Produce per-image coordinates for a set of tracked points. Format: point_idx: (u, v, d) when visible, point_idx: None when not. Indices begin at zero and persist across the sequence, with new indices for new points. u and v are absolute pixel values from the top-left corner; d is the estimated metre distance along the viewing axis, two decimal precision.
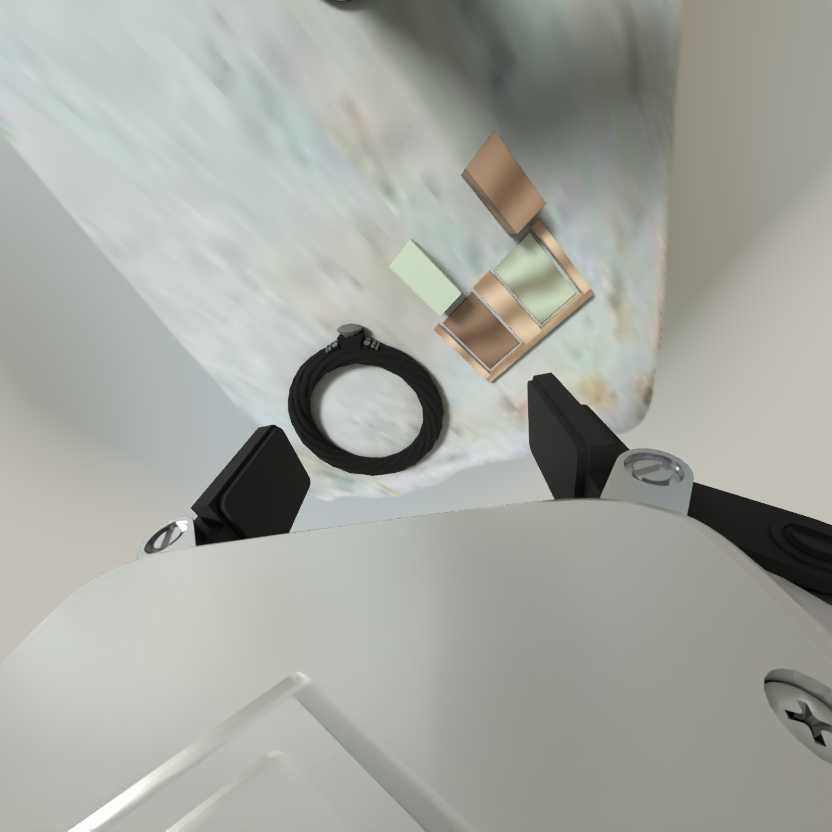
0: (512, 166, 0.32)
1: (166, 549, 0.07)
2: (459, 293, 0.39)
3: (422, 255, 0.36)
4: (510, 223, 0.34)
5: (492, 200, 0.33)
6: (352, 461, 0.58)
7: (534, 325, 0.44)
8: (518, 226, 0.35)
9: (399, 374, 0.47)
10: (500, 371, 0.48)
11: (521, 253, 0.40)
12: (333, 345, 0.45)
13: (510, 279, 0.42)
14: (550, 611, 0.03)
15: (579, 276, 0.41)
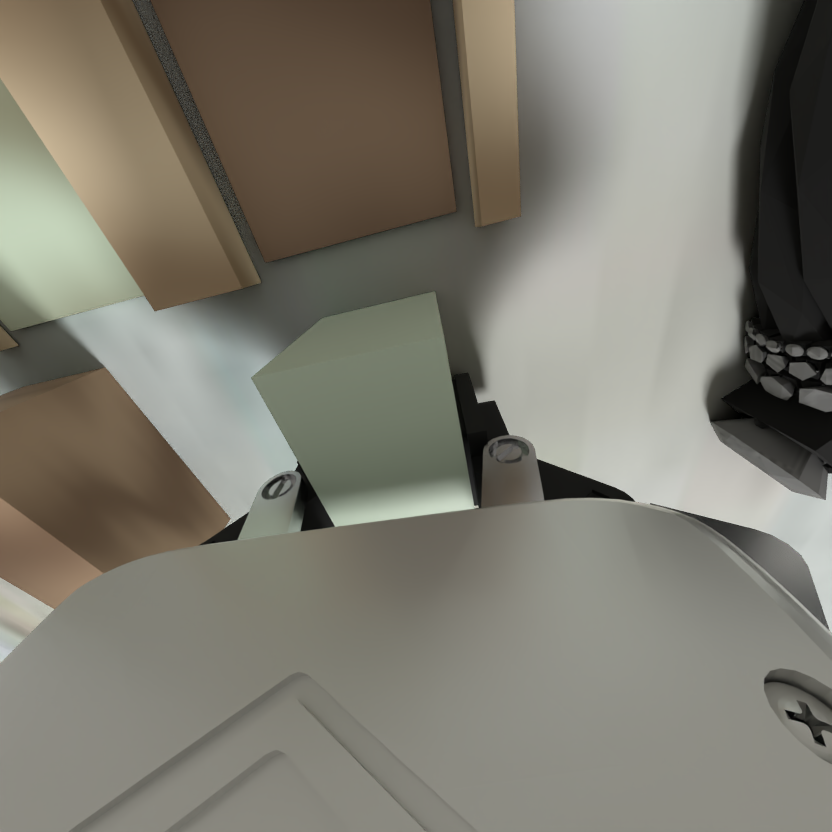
0: (13, 577, 0.11)
1: (274, 500, 0.08)
2: (263, 384, 0.06)
3: None
4: None
5: (76, 553, 0.10)
6: None
7: None
8: None
9: None
10: None
11: (29, 281, 0.10)
12: None
13: (70, 203, 0.08)
14: (550, 611, 0.03)
15: None
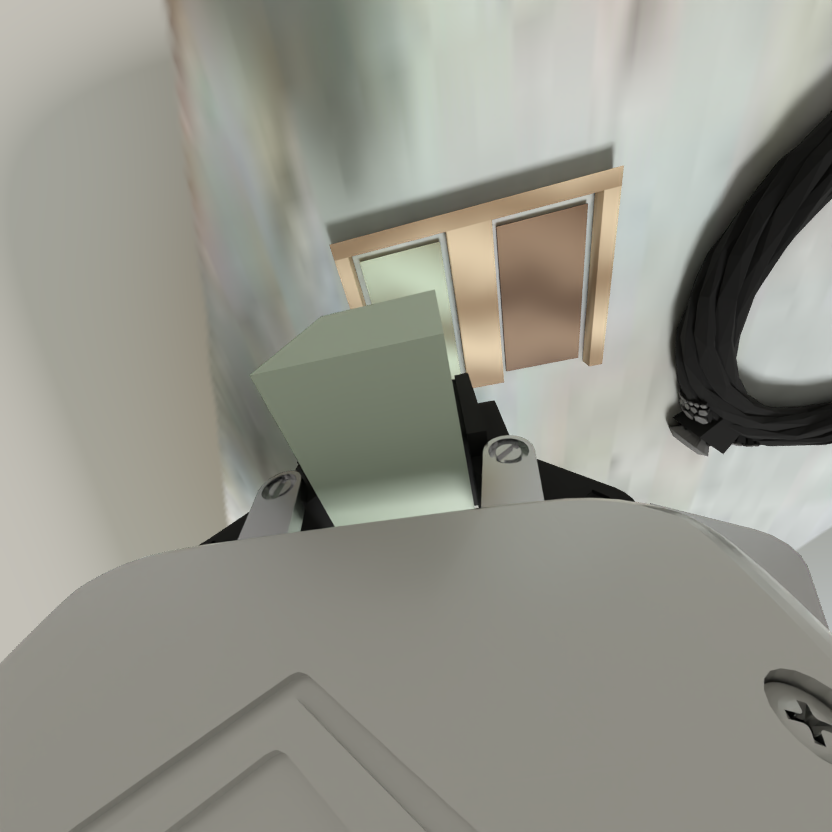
0: None
1: (274, 500, 0.08)
2: (262, 382, 0.06)
3: None
4: None
5: None
6: None
7: (453, 254, 0.20)
8: None
9: (736, 341, 0.22)
10: (579, 183, 0.18)
11: None
12: None
13: (448, 354, 0.25)
14: (550, 611, 0.03)
15: (349, 296, 0.22)
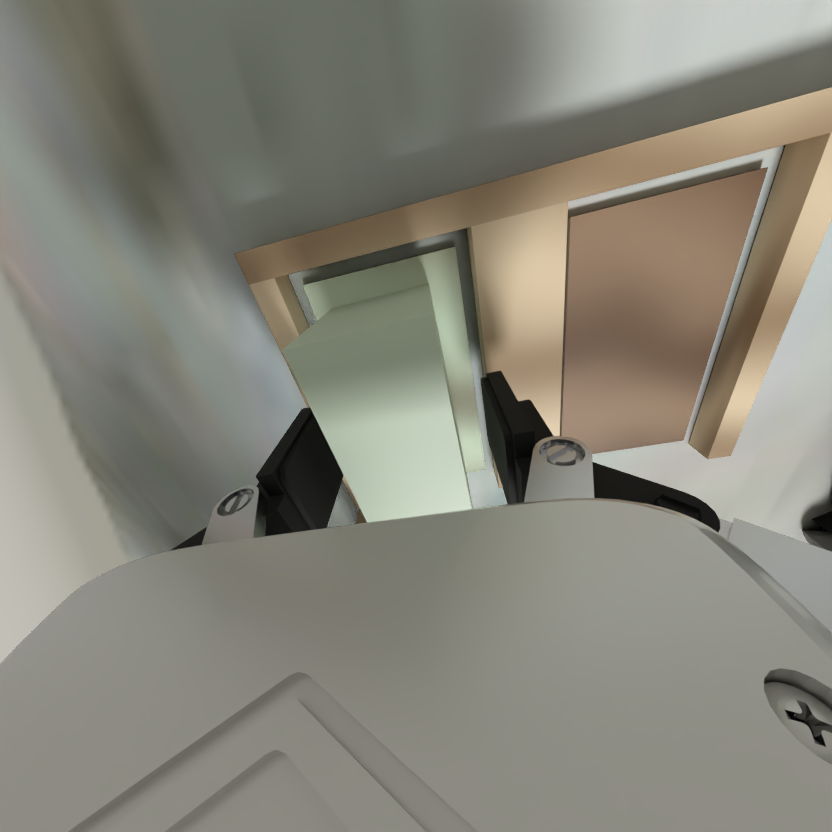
0: None
1: (232, 515, 0.07)
2: (291, 355, 0.08)
3: (371, 517, 0.11)
4: None
5: None
6: None
7: (484, 272, 0.10)
8: None
9: None
10: (779, 117, 0.08)
11: None
12: None
13: (465, 434, 0.15)
14: (550, 611, 0.03)
15: None
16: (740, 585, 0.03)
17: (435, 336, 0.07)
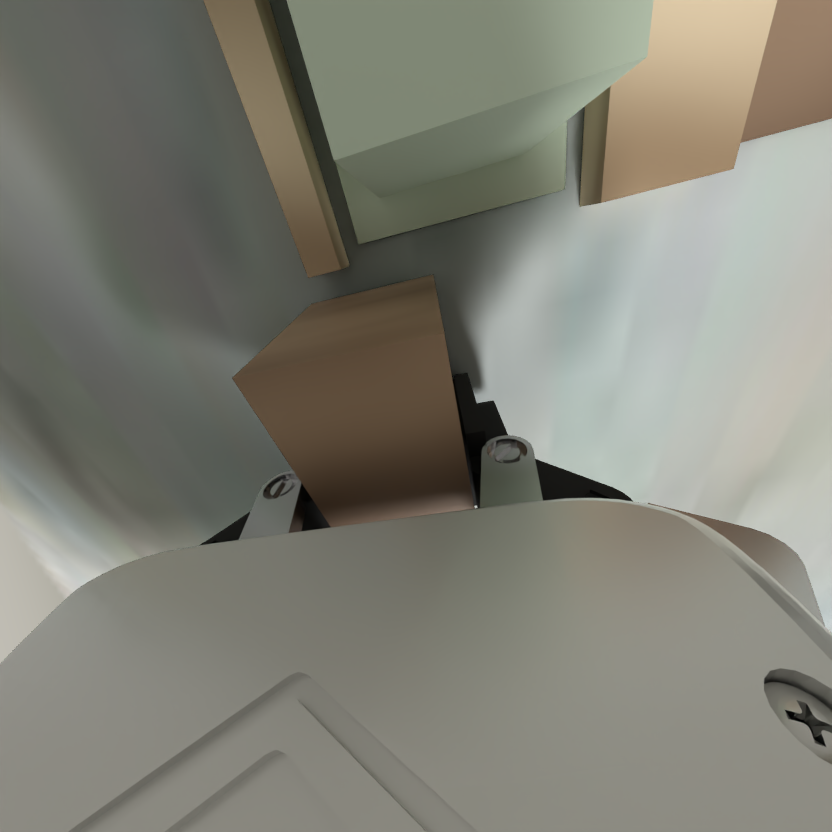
0: None
1: (275, 500, 0.08)
2: None
3: None
4: (450, 403, 0.06)
5: (469, 504, 0.08)
6: None
7: None
8: (418, 368, 0.05)
9: None
10: None
11: None
12: None
13: None
14: (550, 611, 0.03)
15: None
16: (740, 585, 0.03)
17: None
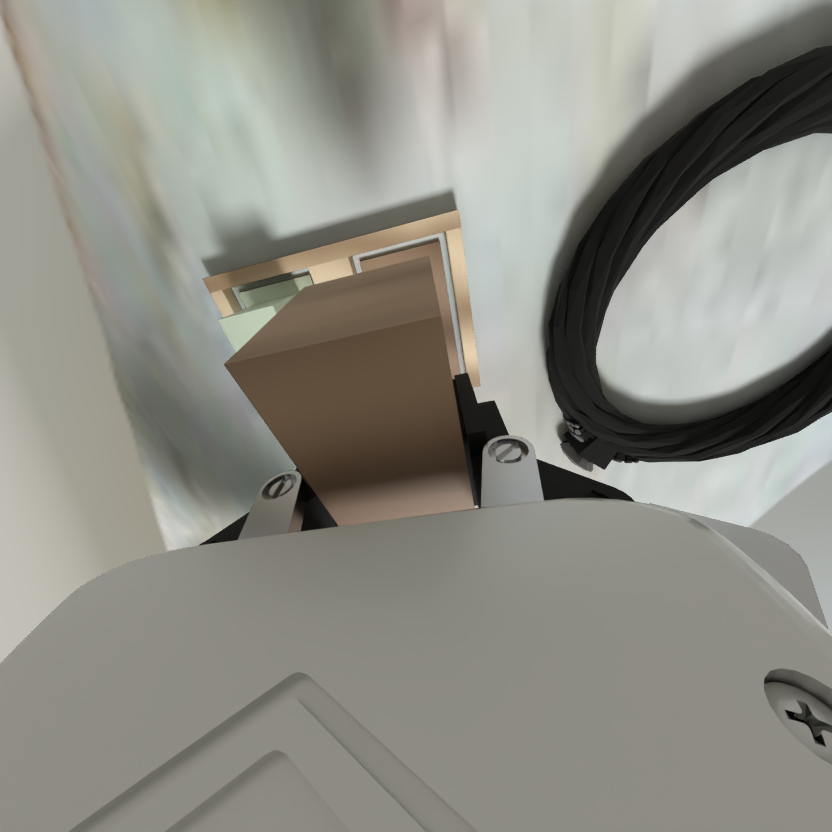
0: (353, 521, 0.09)
1: (274, 500, 0.08)
2: (221, 322, 0.19)
3: None
4: (447, 387, 0.06)
5: (466, 489, 0.08)
6: None
7: None
8: (414, 352, 0.05)
9: (592, 367, 0.23)
10: (422, 225, 0.20)
11: None
12: (618, 461, 0.28)
13: None
14: (550, 611, 0.03)
15: None
16: (740, 585, 0.03)
17: None
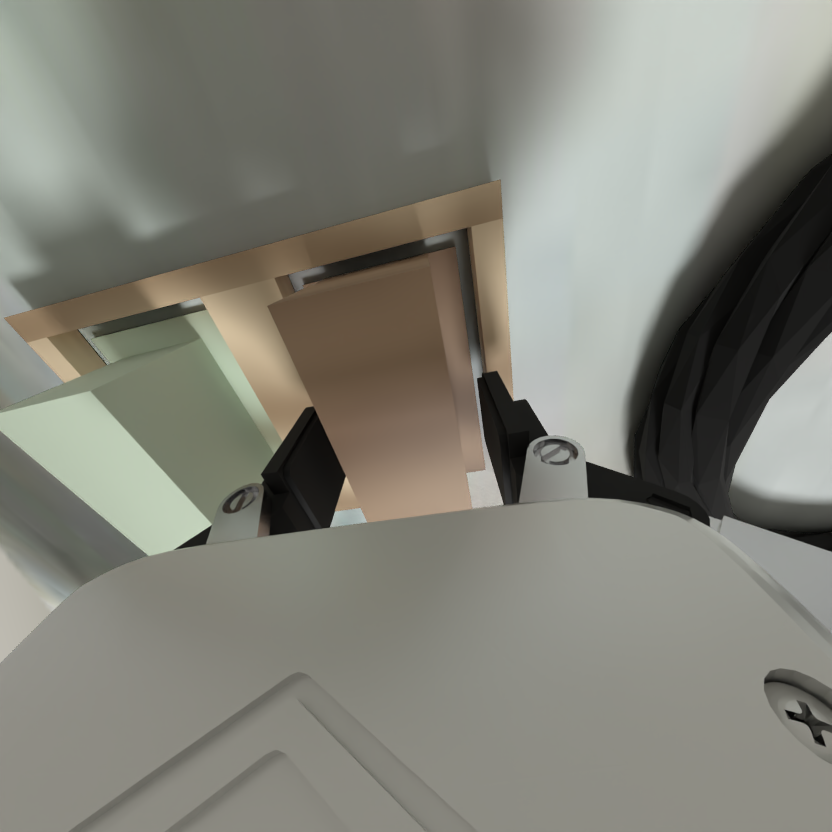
0: (357, 467, 0.10)
1: (237, 513, 0.07)
2: None
3: (144, 548, 0.12)
4: (436, 329, 0.07)
5: (455, 433, 0.09)
6: None
7: (228, 333, 0.12)
8: (410, 297, 0.07)
9: (729, 473, 0.13)
10: (421, 214, 0.09)
11: None
12: None
13: None
14: (550, 611, 0.03)
15: None
16: (740, 585, 0.03)
17: (103, 407, 0.09)
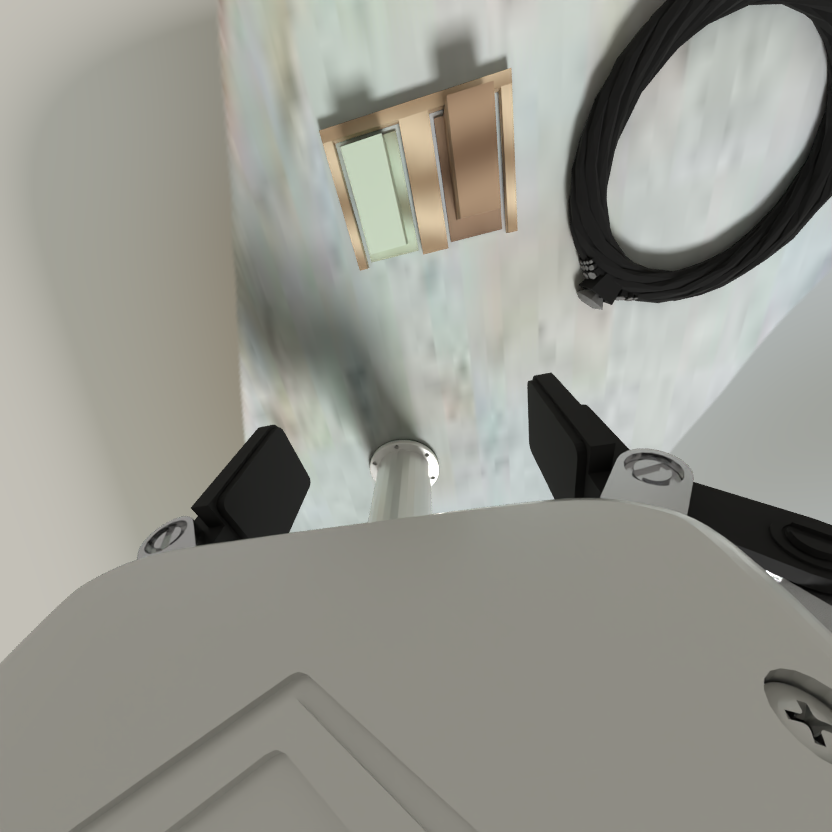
0: (460, 172, 0.28)
1: (166, 549, 0.07)
2: (342, 149, 0.27)
3: (365, 230, 0.31)
4: (493, 104, 0.26)
5: (496, 152, 0.27)
6: None
7: (404, 137, 0.30)
8: (487, 91, 0.25)
9: (604, 203, 0.31)
10: (484, 81, 0.28)
11: None
12: (622, 299, 0.36)
13: (407, 227, 0.35)
14: (550, 611, 0.03)
15: (333, 173, 0.31)
16: (740, 585, 0.03)
17: (382, 141, 0.27)
